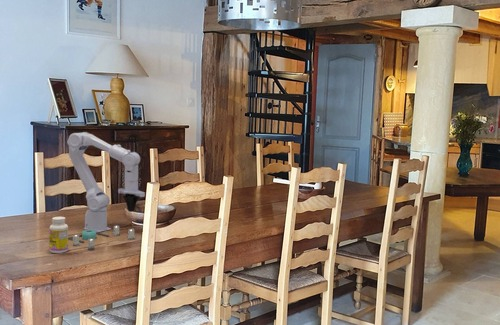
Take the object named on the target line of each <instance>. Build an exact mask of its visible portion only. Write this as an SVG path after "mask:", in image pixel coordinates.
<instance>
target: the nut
mask: <svg viewBox="0 0 500 325" xmlns="http://www.w3.org/2000/svg"><path fill="white" fill-rule="evenodd" d="M81 235H82V237H81V239H82V240H83V241H85V240H86V241H88V239H90V238H94V239H95V238H97V234H96V231H95V230H85V229H83V230H82V231H81ZM95 240H96V239H95Z"/></svg>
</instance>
